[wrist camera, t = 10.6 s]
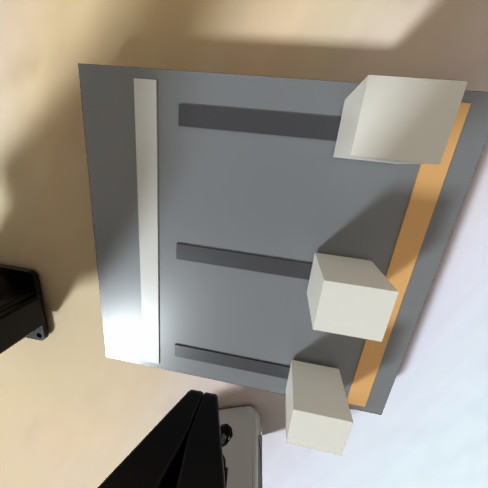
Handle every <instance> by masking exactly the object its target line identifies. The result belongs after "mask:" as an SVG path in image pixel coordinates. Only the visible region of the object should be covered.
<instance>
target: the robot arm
mask: <svg viewBox="0 0 488 488" xmlns="http://www.w3.org/2000/svg"><path fill="white" fill-rule="evenodd" d="M48 335H49V333H48V327H47V322H46V316H45V311H44V305H43V300H42V294H41V288H40V283H39V277H38V274H37V273H36V272H35V271H34V270H30V269H25V268H19V267H13V266H8V265H2V264H0V354H1V353H2V352H4V351H5V350H7V349H8V348H10V347H11V346H13V345H14V344H16V343H17V342H19V341H20V340H22V339H23V338H25V337H27V338H32V339H36V340H44V339H45V338H47V337H48ZM98 488H226V487H225V476H224V465H223V453H222V442H221V430H220V419H219V407H218V397H217V395H216V394H211V393H204V394H203V392H201V391H196V390H190V391H189V392H188V393H187V394H186V395H185V396H184V397H183V398H182V399H181V400H180V401H179V402H178V403H177V404H176V405H175V406H174V407H173V408H172V410H171V411H170V412H169V413H168V414H167V415H166V416H165V417H164V418H163V419H162V420H161V421H160V422H159V423H158V424H157V425H156V426H155V428H154V429H153V430H152V431H151V432H150V433H149V434H148V435H147V436H146V437H145V438H144V439H143V440H142V441H141V442H140V443H139V444H138V446H137V447H136V448H135V449H134V450H133V451H132V452H131V453H130V454H129V455H128V456H127V457H126V458H125V459H124V460H123V461H122V462H121V464H120V465H119V466H118V467H117V468H116V469H115V470H114V471H113V472H112V473H111V474H110V475H109V476H108V477H107V478H106V479H105V480H104V482H103V483H102V484H101V485H100V486H99V487H98Z"/></svg>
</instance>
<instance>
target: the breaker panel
mask: <svg viewBox="0 0 488 488" xmlns="http://www.w3.org/2000/svg"><path fill="white" fill-rule="evenodd" d="M78 67H79V78H80V88H81V99H82V109H83V120H84V130H85V141H86V151H87V162H88V173H89V183H90V194H91V204H92V215H93V225H94V236H95V247H96V257H97V268H98V278H99V289H100V299H101V310H102V320H103V331H104V342H105V352H106V357H109V358H113V359H118V360H123V361H128V362H132V363H137V364H142V365H146V366H151V367H156V368H161V369H165V370H170V371H175V372H180V373H184V374H189V375H194V376H199V377H203V378H208V379H213V380H218V381H222V382H227V383H232V384H237V385H241V386H246V387H251V388H256V389H260V390H265V391H270V392H274V393H279V394H284V395H286V385H287V380H288V375H289V371H290V366H291V361H292V360H296V361H301V362H306V363H311V364H316V365H321V366H326V367H332V368H337V369H339V371H340V374H341V378H342V382H343V386H344V390H345V393H346V397H347V401H348V405H349V408H350V409H355V410H360V411H365V412H369V413H374V414H379V415H381V414H382V412H383V409H384V407H385V404H386V401H387V399H388V396H389V394H390V391H391V388H392V386H393V383H394V381H395V378H396V375H397V373H398V370H399V367H400V365H401V362H402V360H403V357H404V354H405V352H406V349H407V347H408V344H409V341H410V339H411V336H412V334H413V331H414V328H415V326H416V323H417V320H418V318H419V315H420V313H421V310H422V307H423V305H424V302H425V300H426V297H427V294H428V292H429V289H430V286H431V284H432V281H433V279H434V276H435V273H436V271H437V268H438V266H439V263H440V260H441V258H442V255H443V253H444V250H445V247H446V245H447V242H448V239H449V237H450V234H451V232H452V229H453V226H454V224H455V221H456V219H457V216H458V213H459V211H460V208H461V205H462V203H463V200H464V198H465V195H466V192H467V190H468V187H469V185H470V182H471V179H472V177H473V174H474V172H475V169H476V166H477V164H478V161H479V158H480V156H481V153H482V151H483V148H484V145H485V143H486V140H487V138H488V92H481V91H467V90H465V92H464V95H463V98H462V101H461V104H460V107H459V110H458V113H457V116H456V119H455V122H454V125H453V128H452V131H451V134H450V136H449V139H448V142H447V145H446V148H445V151H444V154H443V157H442V160H441V163H440V164H394V163H385V162H375V161H365V160H356V159H346V158H336V157H333V155H334V150H335V145H336V140H337V135H338V131H339V126H340V121H341V116H342V111H343V106H344V101H345V99H346V98H347V97H348V96H349V95H350V94H351V93H352V92H353V91H354V90H355V89H356V88H357V86H358V85H359V84H360V83H352V82H338V81H323V80H309V79H295V78H280V77H266V76H252V75H237V74H223V73H209V72H194V71H180V70H166V69H151V68H137V67H123V66H108V65H94V64H80V63H78ZM315 253H322V254H329V255H336V256H343V257H350V258H357V259H364V260H370V261H372V262H373V263H374V264H375V265H376V267H377V268H378V269H379V270H380V271H381V272H382V273H383V275H384V276H385V277H386V278H387V279H388V280H389V281H390V283H391V284H392V285H393V286H394V287H395V288H396V289H397V291H398V292H399V293H398V296H397V299H396V302H395V305H394V308H393V311H392V313H391V316H390V319H389V322H388V325H387V328H386V331H385V334H384V337H383V340H382V342H380V341H374V340H369V339H363V338H357V337H352V336H346V335H341V334H335V333H330V332H324V331H319V330H313V327H312V321H311V315H310V309H309V303H308V297H307V288H308V283H309V278H310V273H311V269H312V264H313V259H314V254H315Z"/></svg>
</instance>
